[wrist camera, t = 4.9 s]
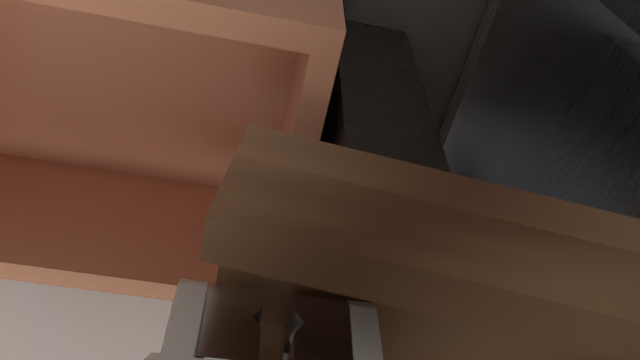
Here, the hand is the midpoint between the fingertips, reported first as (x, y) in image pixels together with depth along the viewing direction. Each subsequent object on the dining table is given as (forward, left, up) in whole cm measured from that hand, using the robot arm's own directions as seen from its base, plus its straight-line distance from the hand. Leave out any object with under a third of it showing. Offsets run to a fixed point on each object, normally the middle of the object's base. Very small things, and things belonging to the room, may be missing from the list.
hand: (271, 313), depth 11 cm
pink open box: (+4, 0, -9) cm, 10 cm away
